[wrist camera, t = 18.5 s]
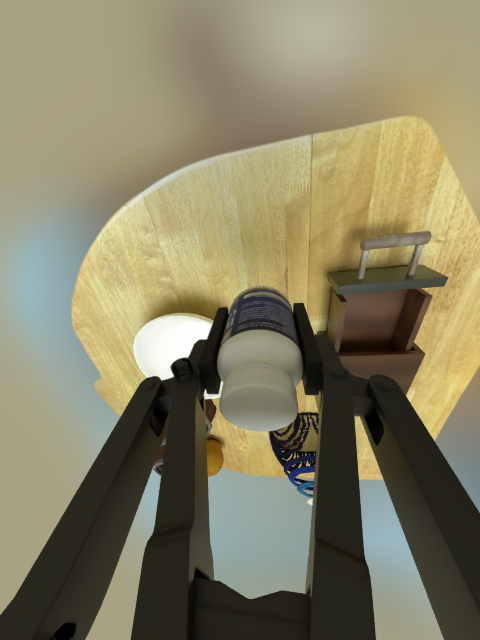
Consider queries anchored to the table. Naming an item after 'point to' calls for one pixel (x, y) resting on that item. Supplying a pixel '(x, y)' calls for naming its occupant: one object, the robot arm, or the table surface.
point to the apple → (214, 457)
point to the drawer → (381, 299)
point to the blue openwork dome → (297, 461)
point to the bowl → (169, 343)
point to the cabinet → (382, 365)
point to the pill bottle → (260, 361)
